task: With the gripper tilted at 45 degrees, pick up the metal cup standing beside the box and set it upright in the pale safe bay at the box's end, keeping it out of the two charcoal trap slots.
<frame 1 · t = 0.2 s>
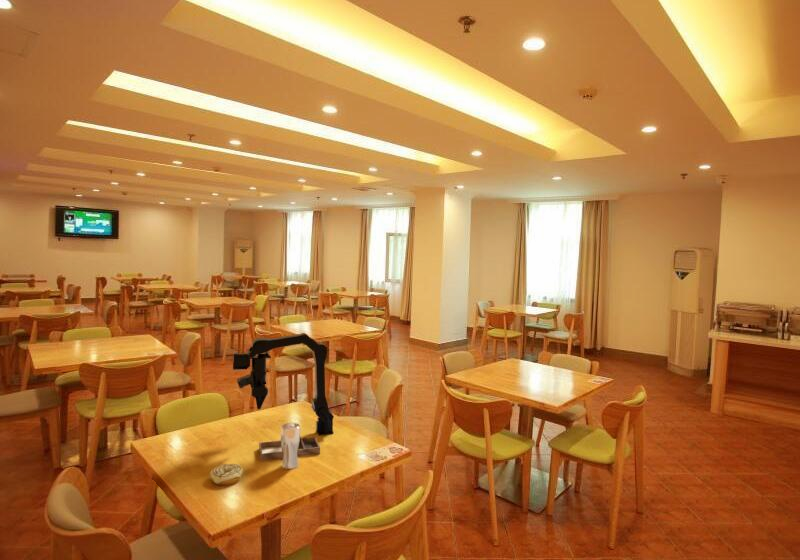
hand: (258, 405, 193), 15 cm above the table, tool pointing down, fingers open, 9 cm apart
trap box: (289, 451, 183), on the table
decorated donut: (226, 480, 160), on the table
metal cup: (290, 465, 171), on the table
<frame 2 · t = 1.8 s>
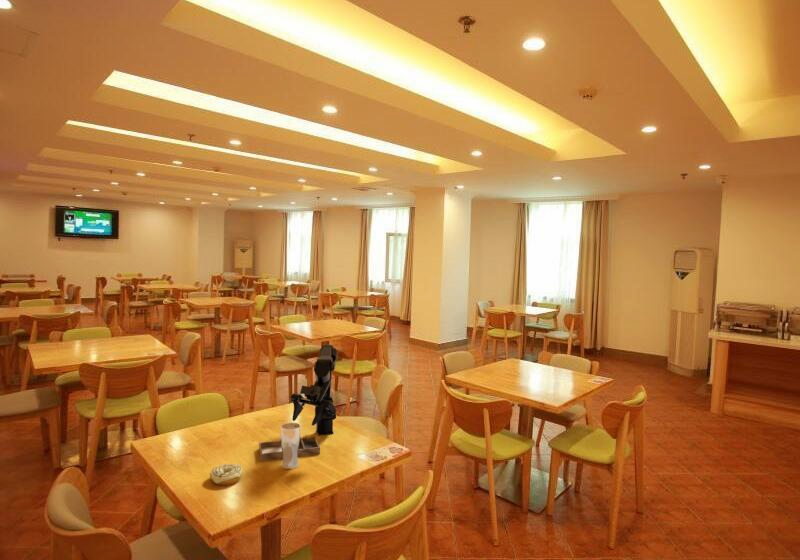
hand: (302, 422, 178), 13 cm above the table, tool tilted 45°, fingers open, 9 cm apart
nothing on the table moved.
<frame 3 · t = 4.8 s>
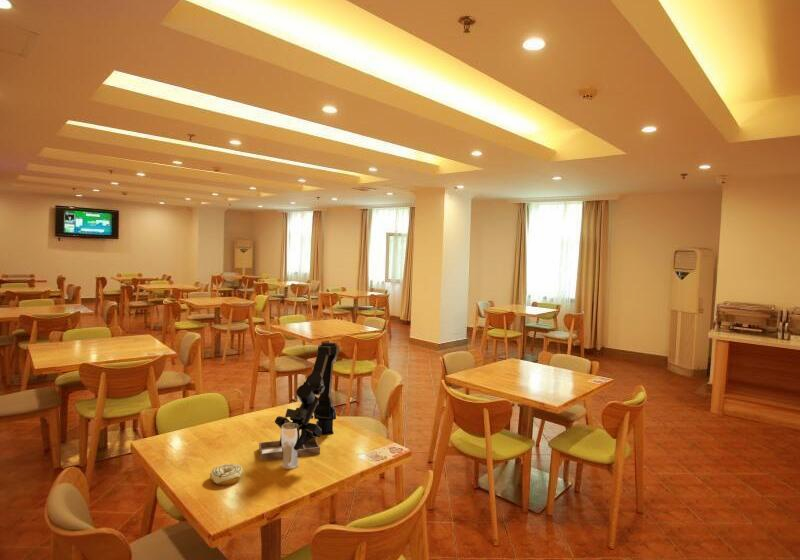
hand: (287, 448, 169), 7 cm above the table, tool tilted 45°, fingers closed on metal cup, 7 cm apart
metal cup: (290, 465, 171), on the table, touching gripper
everything else where it was.
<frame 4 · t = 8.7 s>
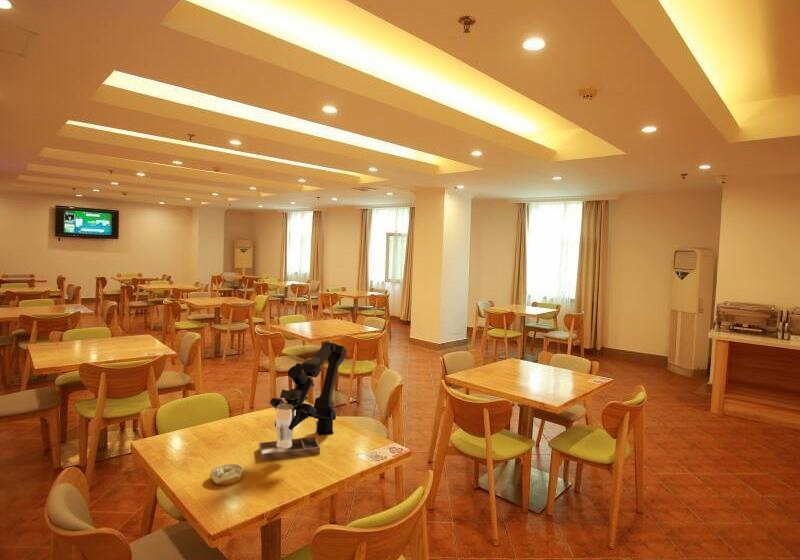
hand: (282, 427, 173), 13 cm above the table, tool tilted 45°, fingers closed on metal cup, 6 cm apart
metal cup: (284, 445, 175), point 6 cm above the table, touching gripper
everything else where it was.
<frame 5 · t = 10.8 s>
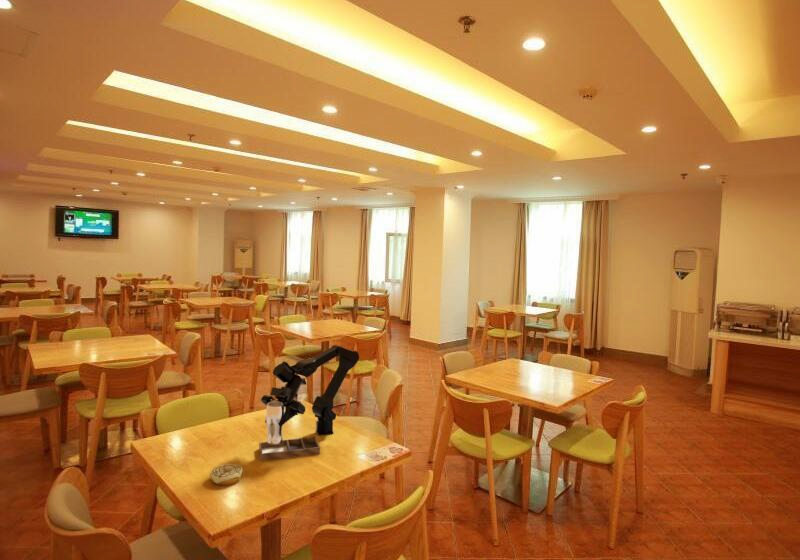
hand: (272, 424, 179), 12 cm above the table, tool tilted 45°, fingers closed on metal cup, 6 cm apart
metal cup: (274, 441, 181), point 4 cm above the table, touching gripper
everything else where it was.
when the fingers open (8 cm above the table, at t = 12.7 s): metal cup stays where it is, resting on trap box.
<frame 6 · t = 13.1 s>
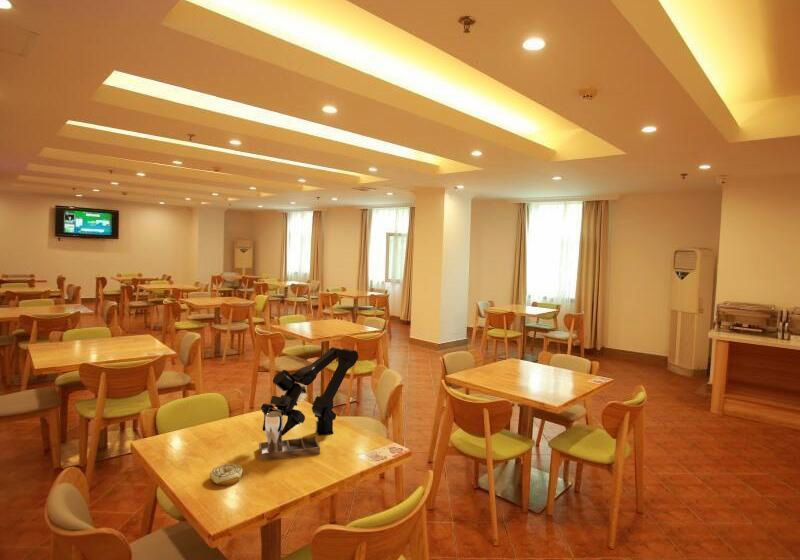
hand: (272, 432, 179), 9 cm above the table, tool tilted 45°, fingers open, 9 cm apart
metal cup: (274, 451, 182), resting on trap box, touching gripper
everything else where it was.
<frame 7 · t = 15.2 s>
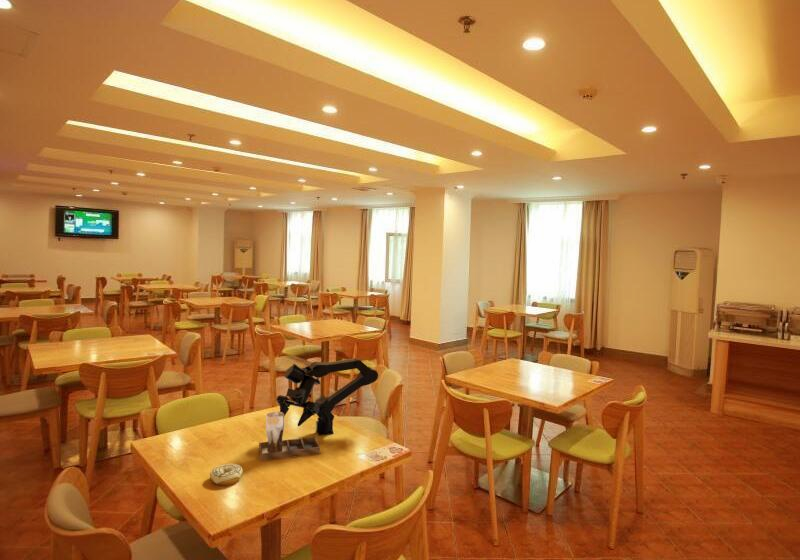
hand: (288, 423, 188), 9 cm above the table, tool tilted 40°, fingers open, 9 cm apart
metal cup: (274, 452, 182), resting on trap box
everything else where it was.
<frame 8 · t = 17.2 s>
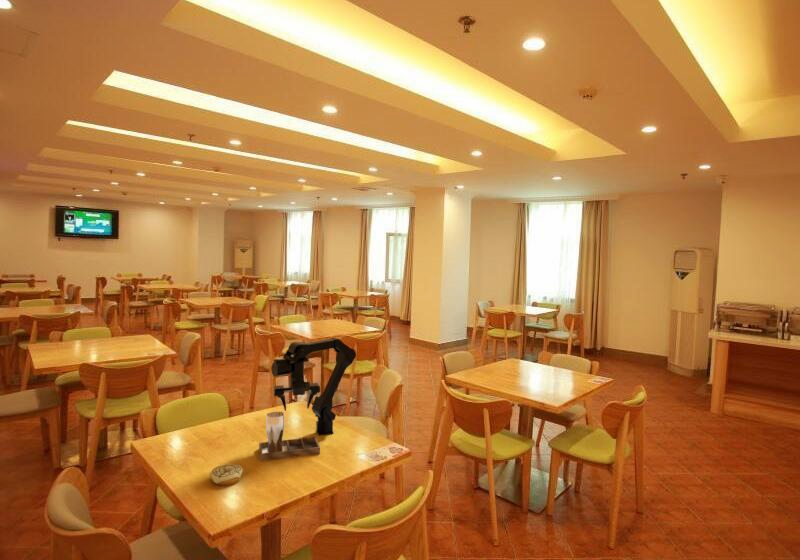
hand: (296, 409, 194), 13 cm above the table, tool pointing down, fingers open, 9 cm apart
nothing on the table moved.
at the end: metal cup 0.5 cm from the target spot on the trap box, point 0.1 cm above the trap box's base; metal cup tilted 0°; the gripper is holding nothing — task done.
